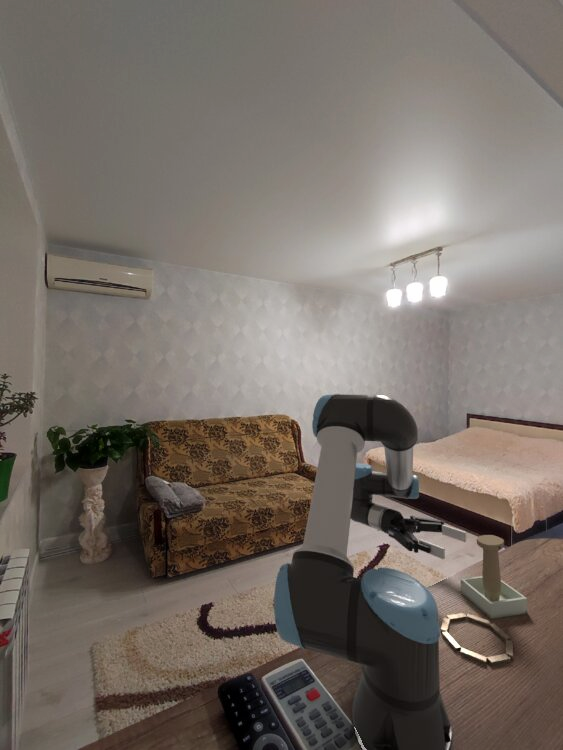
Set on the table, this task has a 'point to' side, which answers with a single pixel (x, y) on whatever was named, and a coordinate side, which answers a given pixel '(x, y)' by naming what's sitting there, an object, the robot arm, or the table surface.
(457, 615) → the collar ring
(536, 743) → the table surface
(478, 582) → the bin
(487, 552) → the handle
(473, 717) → the table surface
